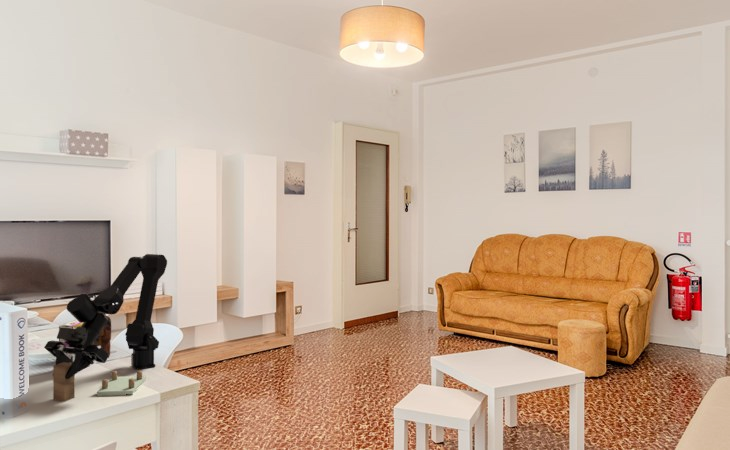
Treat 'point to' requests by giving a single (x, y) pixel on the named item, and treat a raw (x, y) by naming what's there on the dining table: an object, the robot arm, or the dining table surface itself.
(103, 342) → the wooden figurine
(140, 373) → the peg stand
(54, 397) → the brown wooden block
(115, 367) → the dining table surface
